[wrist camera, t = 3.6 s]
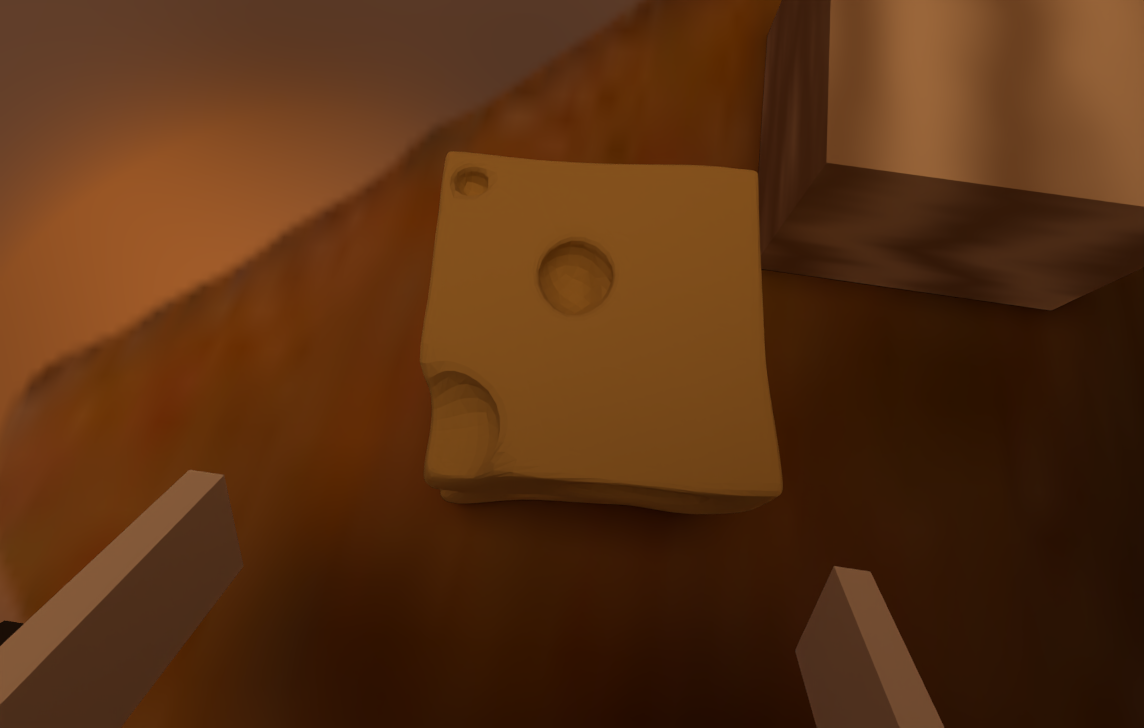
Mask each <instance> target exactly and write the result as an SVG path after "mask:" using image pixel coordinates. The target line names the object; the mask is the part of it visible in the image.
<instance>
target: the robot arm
mask: <svg viewBox="0 0 1144 728" xmlns="http://www.w3.org/2000/svg"><path fill="white" fill-rule="evenodd" d="M242 567H243V562H242V557H241V553H240V548H239V543H238V538H237V534H236V529H235V524H234V519H233V515H232V510H231V505H230V501H229V496H228V491H227V486H226V482H225V477H224V475H220V474H214V473H207V472H200V471H194V470H189V471H188V472H187V473H185V474H184V475H183V476H182V477H181V478H180V479H179V480H178V481H177V482H176V483H175V484H174V485H173V486H172V487H170V488H169V489H168V490H167V491H166V492H165V493H164V494H163V495H162V496H161V497H160V498H159V499H158V500H157V501H155V502H154V503H153V504H152V505H151V506H150V507H149V508H148V509H147V510H146V511H145V512H144V513H143V514H141V515H140V516H139V517H138V518H137V519H136V520H135V521H134V522H133V523H132V524H131V525H130V526H129V527H128V528H126V529H125V530H124V531H123V532H122V533H121V534H120V535H119V536H118V537H117V538H116V539H115V540H114V541H113V542H111V543H110V544H109V545H108V546H107V547H106V548H105V549H104V550H103V551H102V552H101V553H100V554H99V555H98V556H96V557H95V558H94V559H93V560H92V561H91V562H90V563H89V564H88V565H87V566H86V567H85V568H84V569H82V570H81V571H80V572H79V573H78V574H77V575H76V576H75V577H74V578H73V579H72V580H71V581H70V582H69V583H67V584H66V585H65V586H64V587H63V588H62V589H61V590H60V591H59V592H58V593H57V594H56V595H55V596H54V597H52V598H51V599H50V600H49V601H48V602H47V603H46V604H45V605H44V606H43V607H42V608H41V609H40V610H39V611H37V612H36V613H35V614H34V615H33V616H32V617H31V618H30V619H29V620H28V621H27V622H26V623H25V624H23V623H17V622H10V621H3V622H1V623H0V728H121V726H122V725H123V724H124V723H125V721H126V720H127V719H128V717H129V716H130V715H131V713H132V712H133V711H134V709H135V708H136V707H137V705H138V704H139V703H140V702H141V700H142V699H143V698H144V696H145V695H146V694H147V692H148V691H149V690H150V688H151V687H152V686H153V684H154V683H155V682H156V680H157V679H158V678H159V677H160V675H161V674H162V673H163V671H164V670H165V669H166V667H167V666H168V665H169V663H170V662H171V661H172V659H173V658H174V657H175V656H176V654H177V653H178V652H179V650H180V649H181V648H182V646H183V645H184V644H185V642H186V641H187V640H188V638H189V637H190V636H191V635H192V633H193V632H194V631H195V629H196V628H197V627H198V625H199V624H200V623H201V621H202V620H203V619H204V617H205V616H206V615H207V613H208V612H209V611H210V610H211V608H212V607H213V606H214V604H215V603H216V602H217V600H218V599H219V598H220V596H221V595H222V594H223V592H224V591H225V590H226V589H227V587H228V586H229V585H230V583H231V582H232V581H233V579H234V578H235V577H236V575H237V574H238V573H239V571H240V570H241V569H242ZM795 652H796V656H797V659H798V663H799V666H800V670H801V673H802V677H803V680H804V684H805V687H806V691H807V694H808V698H809V701H810V705H811V709H812V712H813V716H814V719H815V723H816V726H817V728H944V726H943V724H942V722H941V720H940V717H939V715H938V713H937V711H936V709H935V707H934V705H933V703H932V701H931V698H930V696H929V694H928V692H927V690H926V688H925V686H924V684H923V682H922V679H921V677H920V675H919V673H918V671H917V669H916V667H915V665H914V663H913V661H912V658H911V656H910V654H909V652H908V650H907V648H906V646H905V644H904V642H903V639H902V637H901V635H900V633H899V631H898V629H897V627H896V625H895V623H894V620H893V618H892V616H891V614H890V612H889V610H888V608H887V606H886V604H885V601H884V599H883V597H882V595H881V593H880V591H879V589H878V587H877V585H876V583H875V580H874V578H873V576H872V574H871V572H870V571H863V570H857V569H850V568H843V567H836V566H834V567H833V569H832V571H831V573H830V576H829V578H828V580H827V582H826V584H825V586H824V589H823V591H822V593H821V595H820V597H819V600H818V602H817V604H816V606H815V608H814V610H813V613H812V615H811V617H810V619H809V621H808V623H807V626H806V628H805V630H804V632H803V634H802V637H801V639H800V641H799V643H798V645H797V647H796V650H795Z"/></svg>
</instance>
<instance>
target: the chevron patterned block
mask: <svg viewBox="0 0 1144 728" xmlns="http://www.w3.org/2000/svg"><path fill="white" fill-rule="evenodd" d="M758 190H759V228H760V255H761V269H765V270H772V271H779V272H786V273H793V274H800V275H807V276H814V277H821V278H828V279H835V280H842V281H849V282H855V283H862V284H869V285H876V286H883V287H890V288H897V289H904V290H911V291H918V292H925V293H932V294H939V295H946V296H953V297H960V298H967V299H974V300H981V301H988V302H995V303H1002V304H1009V305H1016V306H1023V307H1030V308H1037V309H1044V310H1053V309H1056V308H1058V307H1060V306H1062V305H1064V304H1066V303H1068V302H1071V301H1073V300H1075V299H1077V298H1079V297H1081V296H1083V295H1086V294H1088V293H1090V292H1092V291H1094V290H1096V289H1099V288H1101V287H1103V286H1105V285H1107V284H1109V283H1111V282H1114V281H1116V280H1118V279H1120V278H1122V277H1124V276H1126V275H1129V274H1131V273H1133V272H1135V271H1137V270H1139V269H1142V268H1144V0H782V1H781V4H780V6H779V9H778V11H777V14H776V16H775V18H774V21H773V23H772V26H771V28H770V31H769V33H768V36H767V49H766V64H765V80H764V95H763V110H762V126H761V141H760V156H759V172H758Z"/></svg>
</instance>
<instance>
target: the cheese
mask: <svg viewBox="0 0 1144 728" xmlns="http://www.w3.org/2000/svg"><path fill="white" fill-rule="evenodd" d="M420 364H421V368H422V371H423V374H424V377H425V379H426V382H427V384H428V386H429V390H430V394H431V403H432V415H431V427H430V435H429V440H428V446H427V451H426V457H425V464H424V480H425V482H426V483H427V484H428V485H430V486H431V487H432V488H435V489H440V490H441V492H440V494H441V497H442V498H443V499H444V500H445V501H447V502H451V503H458V504H470V503H483V502H494V501H505V500H548V501H565V502H580V503H598V504H616V505H630V506H637V507H643V508H649V509H655V510H660V511H666V512H674V513H684V514H730V513H740V512H745V511H748V510H751V509H755V508H757V507H759V506H761V505H763V504H765V503H767V502H770V501H772V500H773V499H775V498H776V497H778V496H779V495H780V494H781V493H782V491H783V481H782V471H781V463H780V455H779V447H778V441H777V434H776V428H775V422H774V415H773V409H772V403H771V396H770V390H769V383H768V376H767V367H766V359H765V342H764V320H763V297H762V275H761V255H760V228H759V190H758V173H757V172H756V171H753V170H746V169H734V168H727V167H717V166H699V165H640V164H597V163H574V162H557V161H543V160H532V159H522V158H513V157H504V156H495V155H487V154H478V153H468V152H453V151H452V152H448V154H447V156H446V159H445V165H444V172H443V178H442V186H441V195H440V204H439V213H438V222H437V228H436V236H435V244H434V253H433V262H432V270H431V279H430V287H429V295H428V301H427V307H426V312H425V318H424V324H423V331H422V338H421V351H420Z"/></svg>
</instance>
